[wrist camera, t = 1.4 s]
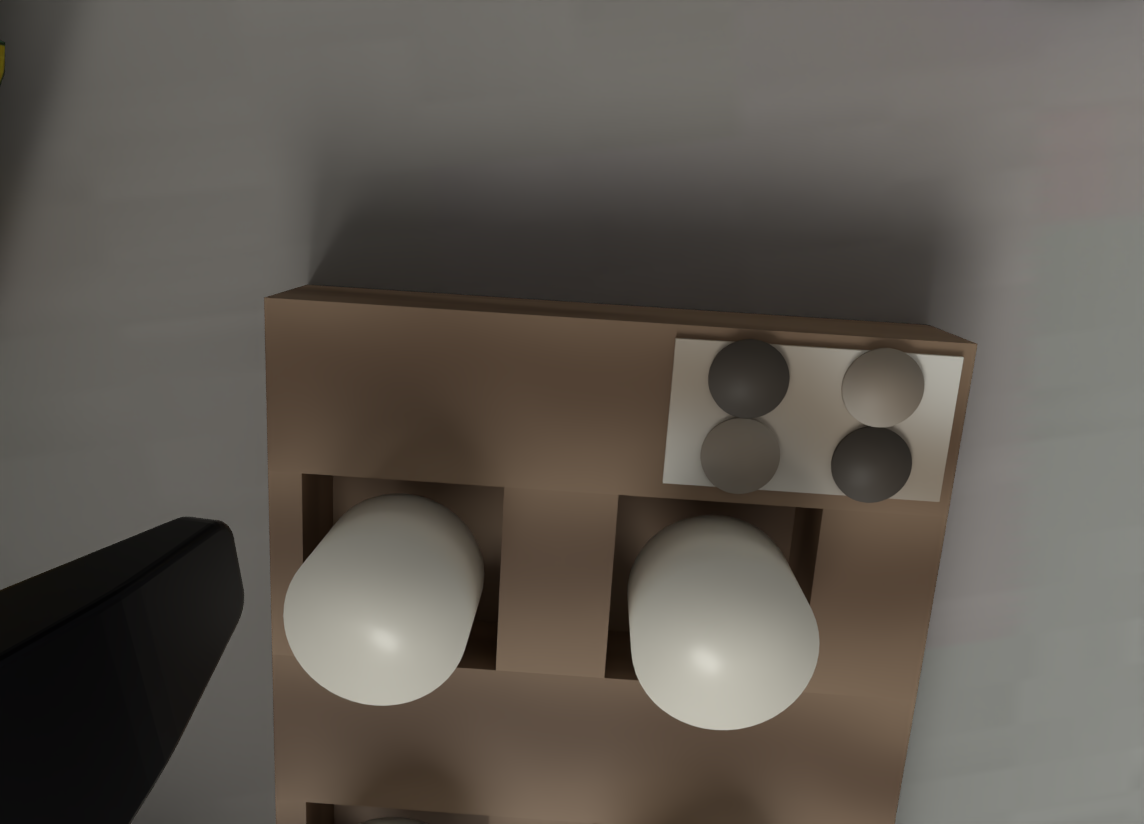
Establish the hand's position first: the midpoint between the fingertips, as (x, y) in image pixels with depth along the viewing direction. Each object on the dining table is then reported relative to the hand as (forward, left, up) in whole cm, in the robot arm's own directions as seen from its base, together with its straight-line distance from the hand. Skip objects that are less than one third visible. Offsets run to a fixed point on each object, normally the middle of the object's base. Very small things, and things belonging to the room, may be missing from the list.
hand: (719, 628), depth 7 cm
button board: (-10, +1, -16) cm, 19 cm away
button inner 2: (-6, +5, -13) cm, 15 cm away
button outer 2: (-6, -2, -13) cm, 14 cm away
